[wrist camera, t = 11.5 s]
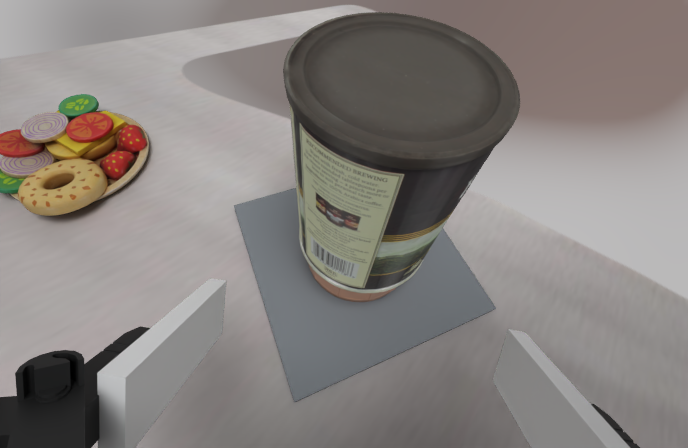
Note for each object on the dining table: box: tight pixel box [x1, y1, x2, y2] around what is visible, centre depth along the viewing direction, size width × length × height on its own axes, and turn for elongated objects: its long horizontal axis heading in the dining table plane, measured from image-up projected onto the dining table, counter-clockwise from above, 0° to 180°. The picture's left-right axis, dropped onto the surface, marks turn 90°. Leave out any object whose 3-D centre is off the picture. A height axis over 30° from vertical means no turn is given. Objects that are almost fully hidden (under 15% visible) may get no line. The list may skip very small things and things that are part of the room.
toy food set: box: [0, 94, 149, 216], centre depth 32 cm, size 13×13×3 cm
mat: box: [234, 188, 496, 402], centre depth 30 cm, size 18×18×1 cm
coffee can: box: [283, 12, 520, 293], centre depth 20 cm, size 10×10×14 cm
